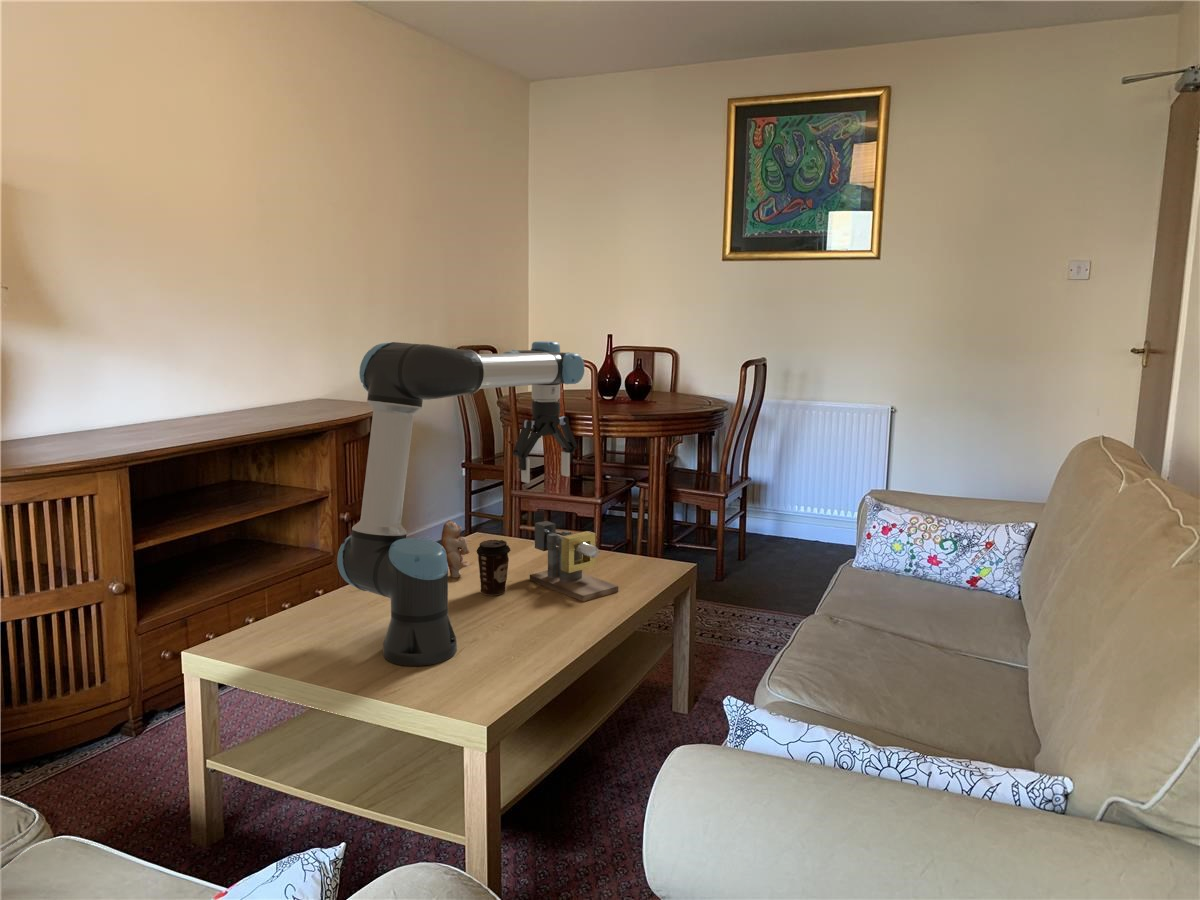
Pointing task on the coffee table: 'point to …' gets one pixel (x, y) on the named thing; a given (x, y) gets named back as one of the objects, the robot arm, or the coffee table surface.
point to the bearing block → (570, 576)
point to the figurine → (454, 548)
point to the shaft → (550, 528)
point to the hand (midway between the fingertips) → (545, 479)
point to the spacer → (568, 552)
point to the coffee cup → (493, 566)
